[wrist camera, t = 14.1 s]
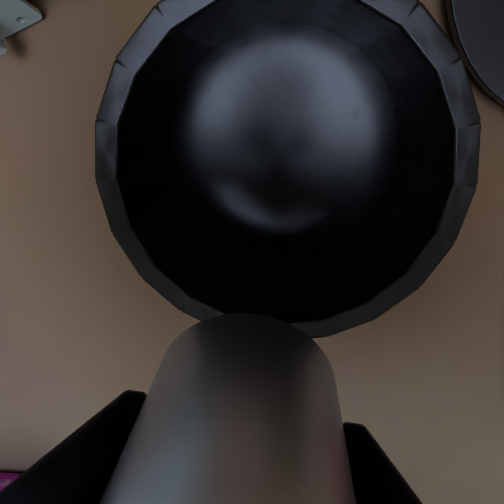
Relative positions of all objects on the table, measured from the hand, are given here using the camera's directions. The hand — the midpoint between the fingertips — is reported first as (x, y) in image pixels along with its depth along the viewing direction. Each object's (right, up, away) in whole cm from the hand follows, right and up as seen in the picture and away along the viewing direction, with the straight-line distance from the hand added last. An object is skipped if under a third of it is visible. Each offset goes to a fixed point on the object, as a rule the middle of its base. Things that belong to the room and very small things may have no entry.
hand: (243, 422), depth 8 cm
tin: (+1, +8, +9) cm, 12 cm away
